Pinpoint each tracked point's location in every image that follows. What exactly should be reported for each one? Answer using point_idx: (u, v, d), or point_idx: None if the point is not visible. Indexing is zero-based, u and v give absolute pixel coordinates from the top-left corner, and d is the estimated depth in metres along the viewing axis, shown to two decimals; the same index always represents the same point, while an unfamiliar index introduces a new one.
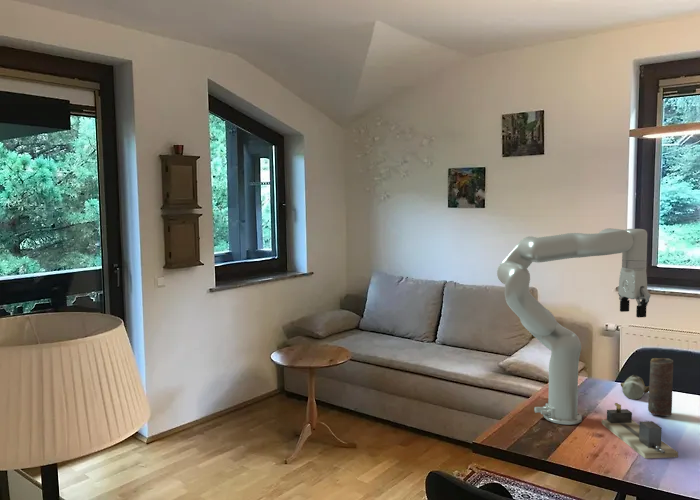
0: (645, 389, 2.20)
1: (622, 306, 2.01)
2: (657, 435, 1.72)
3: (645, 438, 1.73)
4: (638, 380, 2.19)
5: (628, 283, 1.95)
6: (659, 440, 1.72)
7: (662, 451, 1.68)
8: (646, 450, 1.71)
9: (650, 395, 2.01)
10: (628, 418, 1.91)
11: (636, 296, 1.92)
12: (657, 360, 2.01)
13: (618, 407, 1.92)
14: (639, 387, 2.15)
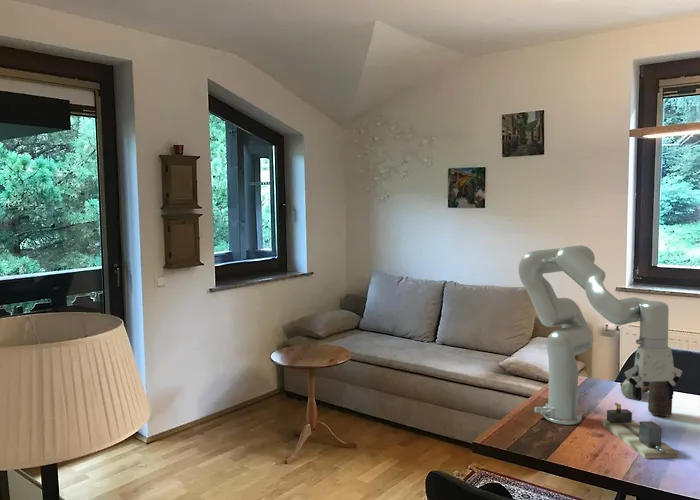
0: (644, 389, 2.20)
1: None
2: (657, 435, 1.72)
3: (645, 438, 1.73)
4: None
5: (663, 365, 1.69)
6: (659, 440, 1.72)
7: (662, 451, 1.68)
8: (646, 450, 1.71)
9: (650, 395, 2.01)
10: (628, 418, 1.91)
11: None
12: None
13: (618, 407, 1.92)
14: None
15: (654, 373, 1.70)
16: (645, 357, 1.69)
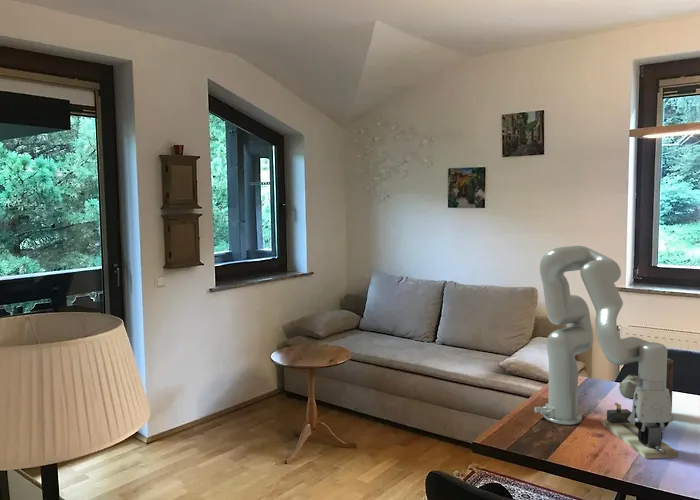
0: None
1: None
2: (657, 435, 1.72)
3: None
4: (635, 379, 2.20)
5: (661, 406, 1.71)
6: (659, 440, 1.72)
7: (662, 451, 1.68)
8: (646, 450, 1.71)
9: None
10: None
11: None
12: None
13: (618, 407, 1.92)
14: (635, 386, 2.16)
15: (652, 414, 1.71)
16: (643, 399, 1.71)
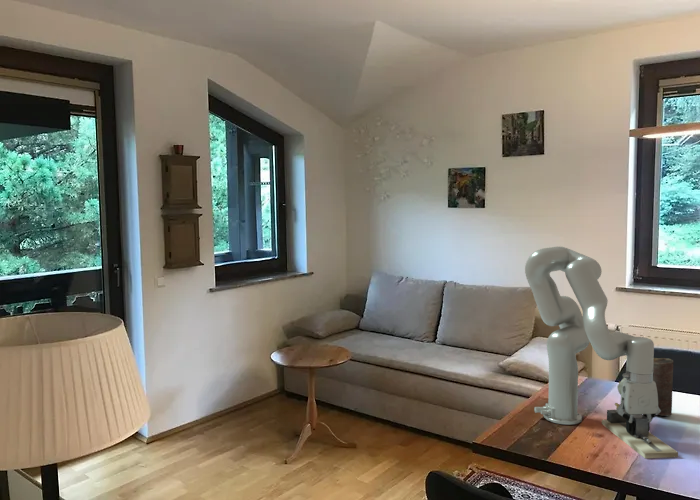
0: None
1: None
2: (644, 426, 1.79)
3: None
4: None
5: (648, 398, 1.78)
6: (646, 431, 1.79)
7: (649, 441, 1.75)
8: (646, 450, 1.71)
9: None
10: None
11: None
12: (657, 360, 2.01)
13: None
14: None
15: (639, 406, 1.78)
16: (631, 391, 1.77)
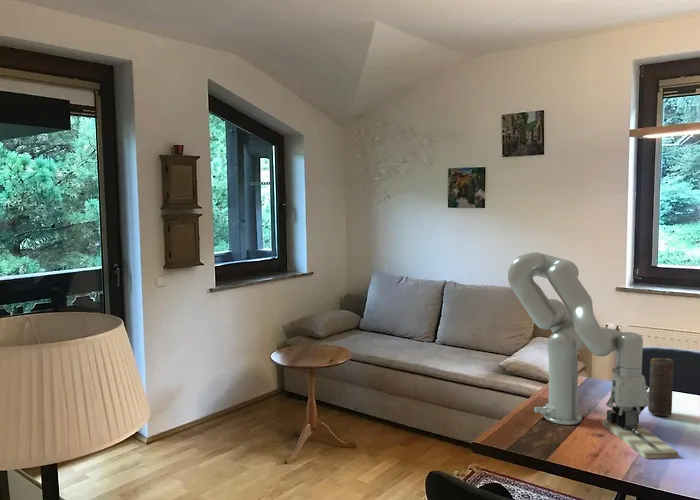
0: None
1: None
2: (633, 418, 1.85)
3: None
4: None
5: (637, 392, 1.84)
6: (635, 423, 1.85)
7: (638, 433, 1.81)
8: (646, 450, 1.71)
9: (650, 395, 2.01)
10: None
11: None
12: (657, 360, 2.01)
13: None
14: None
15: (628, 399, 1.84)
16: (620, 384, 1.84)
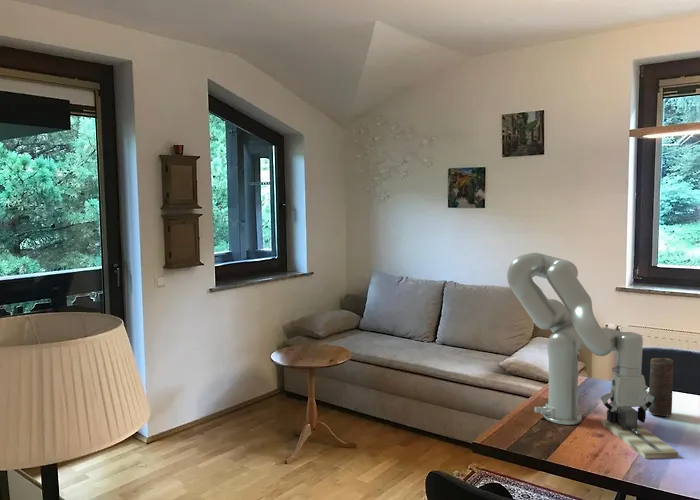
0: None
1: None
2: (633, 418, 1.85)
3: (623, 421, 1.86)
4: None
5: (636, 391, 1.84)
6: (635, 423, 1.85)
7: (637, 433, 1.81)
8: (646, 450, 1.71)
9: None
10: None
11: None
12: (657, 360, 2.01)
13: None
14: None
15: (628, 399, 1.84)
16: (620, 384, 1.84)
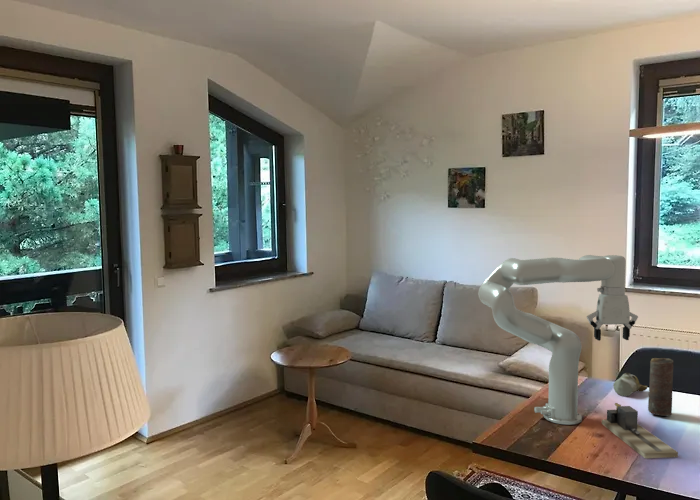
0: (638, 387, 2.22)
1: None
2: (633, 418, 1.85)
3: (623, 421, 1.86)
4: (630, 378, 2.21)
5: (620, 310, 1.96)
6: (635, 423, 1.85)
7: (637, 433, 1.81)
8: (646, 450, 1.71)
9: (650, 395, 2.01)
10: None
11: None
12: (657, 360, 2.01)
13: None
14: (628, 384, 2.19)
15: (612, 317, 1.96)
16: (604, 303, 1.96)
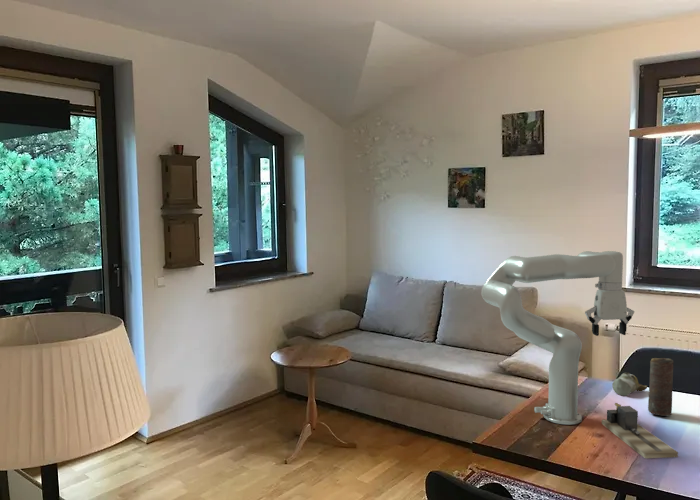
0: (637, 387, 2.22)
1: None
2: (633, 418, 1.85)
3: (623, 421, 1.86)
4: (629, 377, 2.22)
5: (617, 305, 1.98)
6: (635, 423, 1.85)
7: (637, 433, 1.81)
8: (646, 450, 1.71)
9: (650, 395, 2.01)
10: None
11: None
12: (657, 360, 2.01)
13: None
14: (626, 384, 2.19)
15: (610, 312, 1.99)
16: (602, 298, 1.98)
